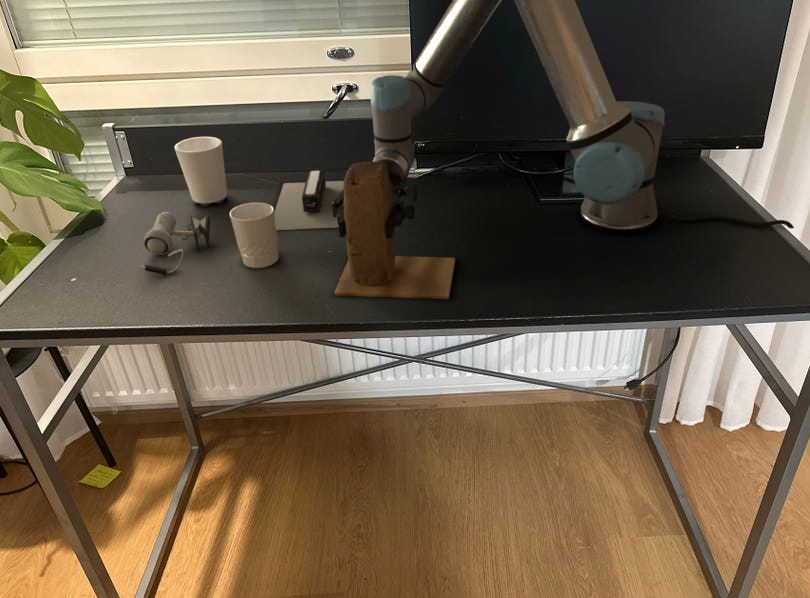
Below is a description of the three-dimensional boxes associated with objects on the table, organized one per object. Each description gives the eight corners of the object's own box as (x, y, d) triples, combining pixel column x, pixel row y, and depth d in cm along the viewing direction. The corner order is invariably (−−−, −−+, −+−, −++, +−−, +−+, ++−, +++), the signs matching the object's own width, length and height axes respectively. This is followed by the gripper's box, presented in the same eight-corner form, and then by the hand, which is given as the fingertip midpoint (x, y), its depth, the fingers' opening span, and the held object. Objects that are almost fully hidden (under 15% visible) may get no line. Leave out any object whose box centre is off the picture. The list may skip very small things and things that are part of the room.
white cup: (289, 253, 135) (281, 204, 129) (268, 272, 129) (259, 222, 123) (253, 248, 137) (244, 200, 131) (231, 266, 131) (221, 217, 125)
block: (390, 289, 121) (382, 180, 110) (348, 288, 122) (336, 178, 110) (400, 260, 130) (394, 155, 118) (360, 258, 131) (350, 154, 119)
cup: (213, 188, 162) (201, 133, 154) (242, 197, 157) (231, 141, 150) (178, 202, 156) (164, 146, 148) (207, 213, 151) (194, 155, 143)
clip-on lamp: (198, 288, 130) (217, 227, 142) (192, 262, 126) (212, 202, 137) (134, 285, 130) (158, 224, 142) (125, 259, 125) (151, 198, 137)
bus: (345, 180, 164) (343, 163, 161) (339, 227, 143) (337, 208, 141) (283, 183, 163) (281, 166, 161) (268, 230, 143) (265, 211, 141)
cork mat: (455, 260, 131) (455, 257, 130) (448, 299, 120) (448, 296, 119) (350, 257, 133) (350, 254, 132) (334, 295, 122) (334, 292, 121)
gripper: (439, 197, 135) (425, 252, 117) (337, 194, 137) (308, 248, 119) (438, 159, 131) (424, 210, 113) (333, 157, 133) (302, 207, 115)
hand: (364, 230), depth 116 cm, fingers closed on block, 7 cm apart
